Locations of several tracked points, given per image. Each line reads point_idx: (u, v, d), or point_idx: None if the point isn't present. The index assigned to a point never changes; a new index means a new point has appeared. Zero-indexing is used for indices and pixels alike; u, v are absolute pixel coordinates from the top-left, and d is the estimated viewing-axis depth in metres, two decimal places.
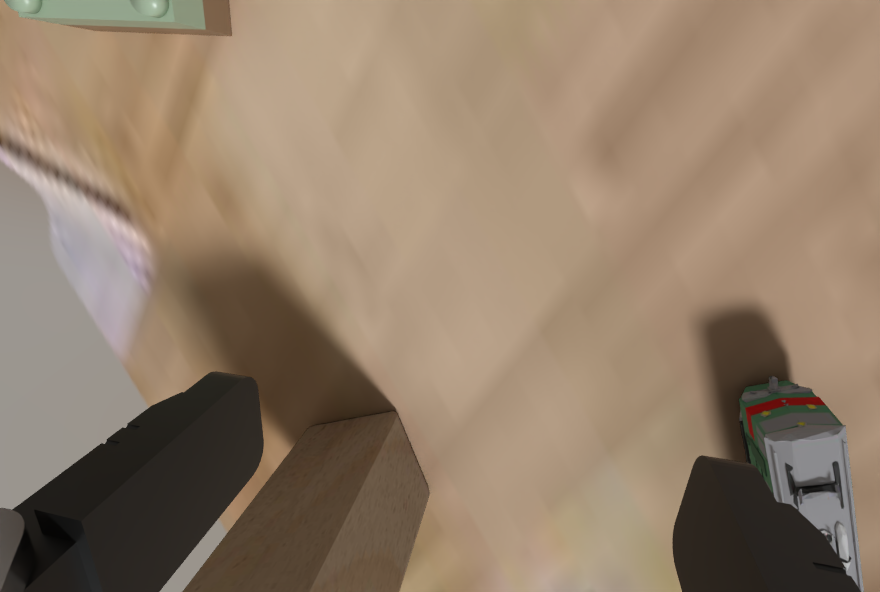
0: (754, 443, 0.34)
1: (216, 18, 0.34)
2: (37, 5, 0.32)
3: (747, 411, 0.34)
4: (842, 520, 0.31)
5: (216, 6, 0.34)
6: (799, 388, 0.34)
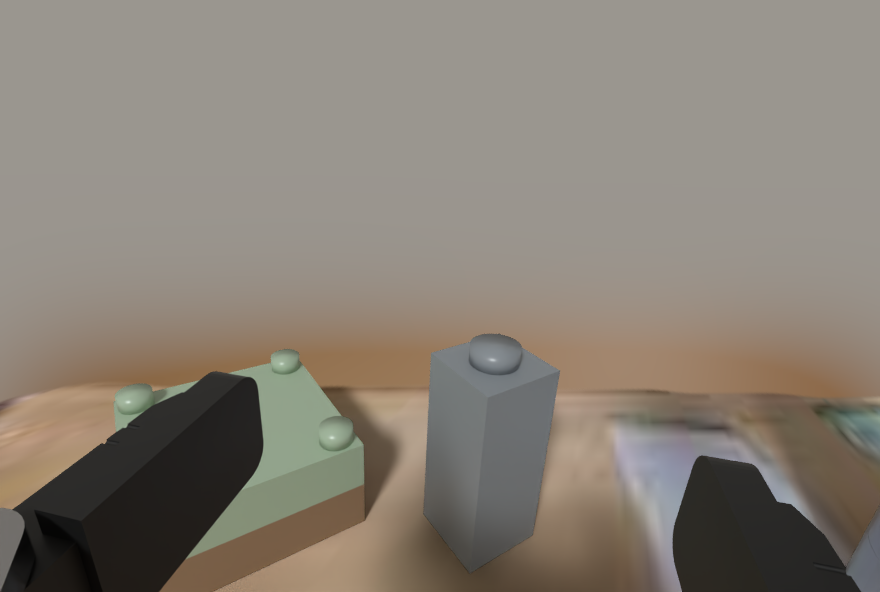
0: None
1: (162, 589, 0.24)
2: (126, 410, 0.30)
3: None
4: None
5: (179, 584, 0.24)
6: None
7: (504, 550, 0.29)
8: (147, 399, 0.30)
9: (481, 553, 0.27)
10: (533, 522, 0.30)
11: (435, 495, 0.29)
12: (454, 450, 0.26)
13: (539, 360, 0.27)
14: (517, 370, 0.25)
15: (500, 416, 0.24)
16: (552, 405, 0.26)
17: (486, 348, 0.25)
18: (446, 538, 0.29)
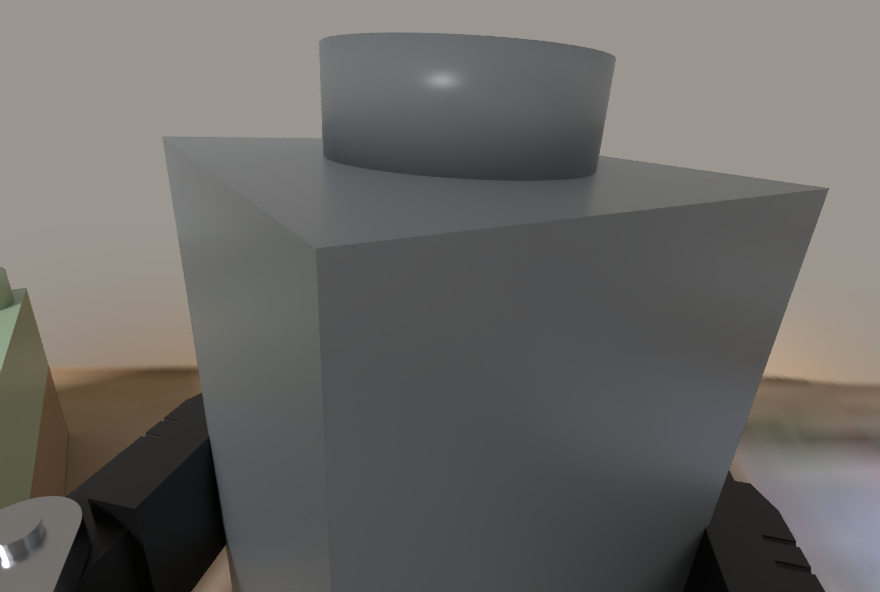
0: None
1: None
2: None
3: None
4: None
5: None
6: None
7: None
8: None
9: None
10: None
11: None
12: None
13: (682, 169, 0.05)
14: (593, 177, 0.04)
15: (481, 458, 0.03)
16: (752, 389, 0.05)
17: None
18: None
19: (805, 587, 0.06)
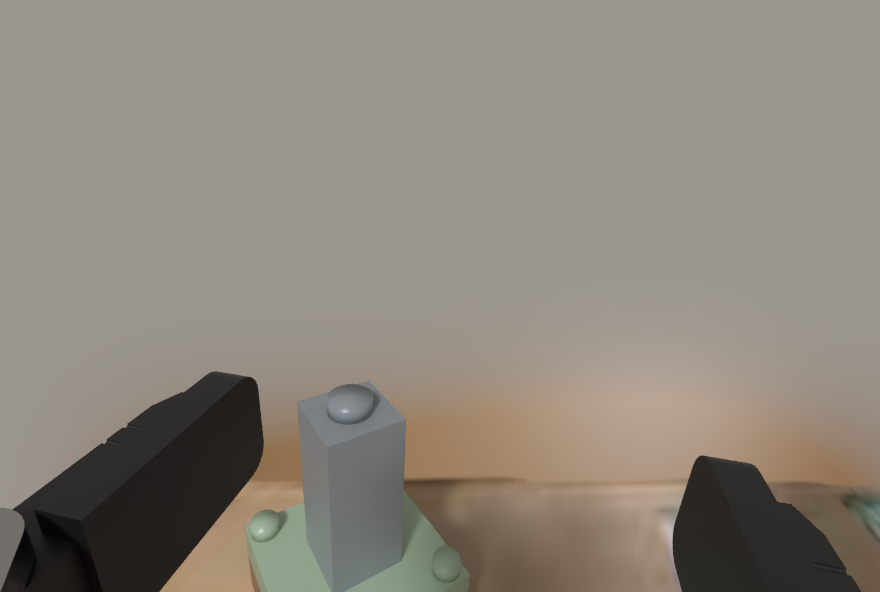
0: None
1: None
2: (260, 539, 0.34)
3: None
4: None
5: None
6: None
7: (370, 575, 0.32)
8: (276, 527, 0.35)
9: (343, 579, 0.31)
10: (400, 550, 0.33)
11: (311, 525, 0.33)
12: (315, 488, 0.30)
13: (392, 408, 0.30)
14: (367, 419, 0.29)
15: (344, 461, 0.27)
16: (402, 449, 0.30)
17: (340, 399, 0.29)
18: (320, 564, 0.32)
19: None
